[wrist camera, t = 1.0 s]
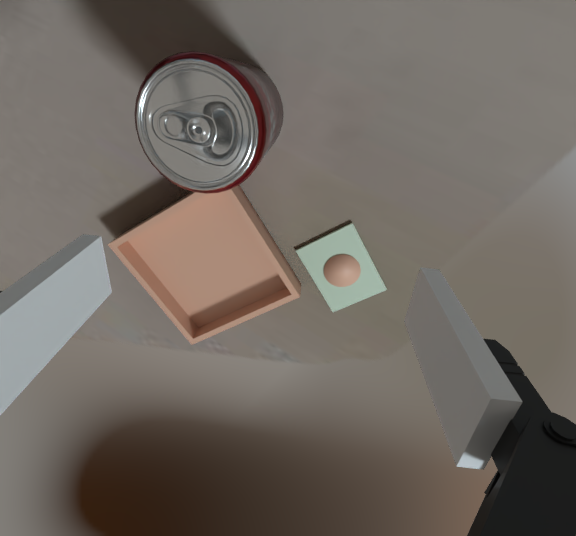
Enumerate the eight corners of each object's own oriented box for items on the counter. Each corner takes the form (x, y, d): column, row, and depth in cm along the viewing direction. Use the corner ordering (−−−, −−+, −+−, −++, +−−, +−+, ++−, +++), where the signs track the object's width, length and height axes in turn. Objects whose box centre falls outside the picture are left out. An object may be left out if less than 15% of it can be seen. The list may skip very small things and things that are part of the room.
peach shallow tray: (120, 234, 36) (107, 244, 33) (229, 169, 32) (222, 175, 30) (198, 330, 41) (191, 344, 38) (301, 283, 37) (300, 296, 34)
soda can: (292, 74, 28) (277, 69, 17) (274, 166, 31) (252, 209, 21) (201, 52, 28) (129, 34, 17) (193, 147, 31) (128, 180, 21)
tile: (295, 249, 35) (295, 251, 35) (352, 222, 33) (352, 223, 33) (332, 310, 38) (332, 312, 38) (386, 288, 36) (386, 290, 36)
